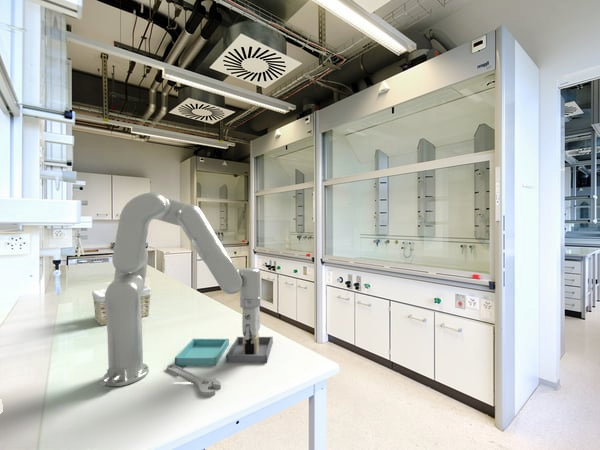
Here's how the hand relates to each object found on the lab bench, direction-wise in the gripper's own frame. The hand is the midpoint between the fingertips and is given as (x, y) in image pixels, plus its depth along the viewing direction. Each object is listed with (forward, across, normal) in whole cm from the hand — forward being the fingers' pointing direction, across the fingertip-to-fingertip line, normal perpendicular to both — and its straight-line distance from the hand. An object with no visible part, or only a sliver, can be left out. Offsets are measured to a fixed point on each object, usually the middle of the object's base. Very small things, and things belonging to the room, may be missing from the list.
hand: (251, 350), depth 111 cm
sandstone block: (+1, 0, 0) cm, 1 cm away
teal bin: (+1, -2, +17) cm, 17 cm away
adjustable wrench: (+2, -18, +15) cm, 23 cm away
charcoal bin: (+1, 0, 0) cm, 1 cm away
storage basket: (+2, +39, +73) cm, 83 cm away
